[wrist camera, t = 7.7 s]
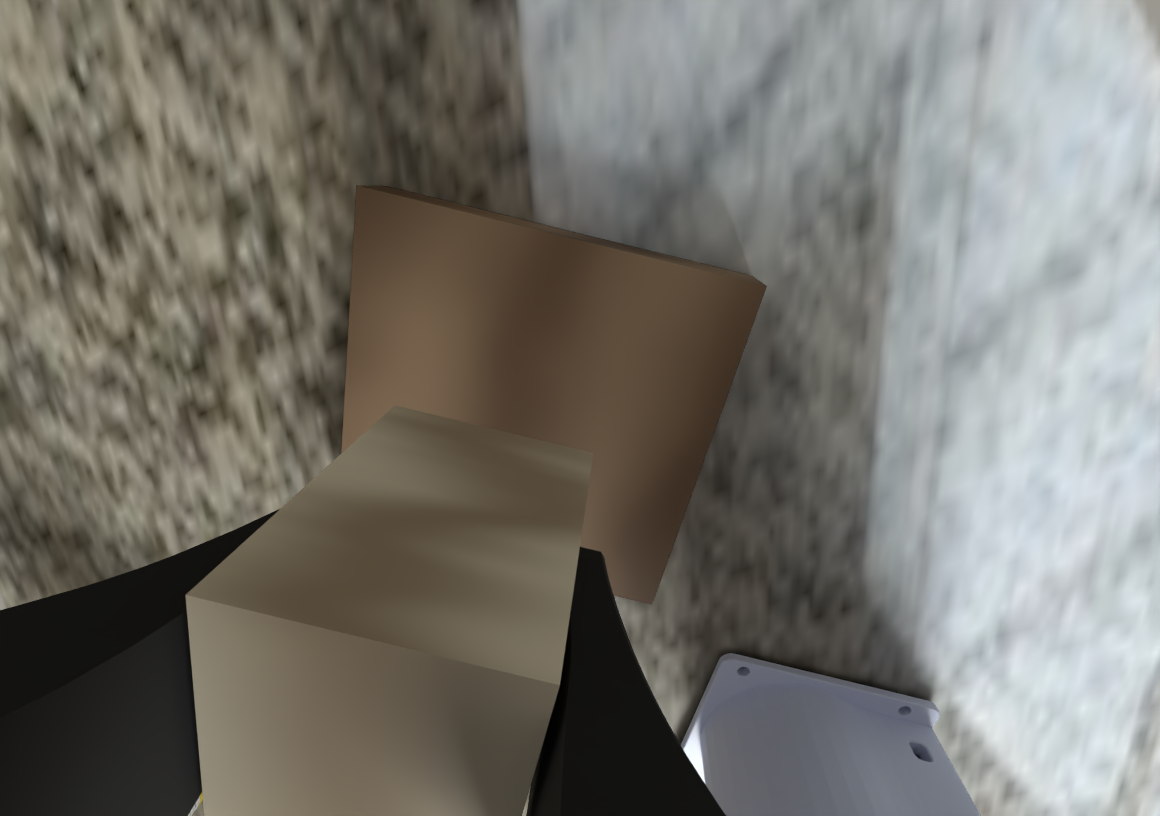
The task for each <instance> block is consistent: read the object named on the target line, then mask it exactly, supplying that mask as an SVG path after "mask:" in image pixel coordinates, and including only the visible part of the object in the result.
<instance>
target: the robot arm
mask: <svg viewBox="0 0 1160 816" xmlns="http://www.w3.org/2000/svg"><path fill="white" fill-rule="evenodd" d="M279 510H280V509H279ZM279 510H277V511H274V512H272V513H270V514H268V515H266V516H264V517H261V518H259V519H257V520H255V521H253V522H251V523H248V524H246V525H244V526H242V527H240V528H238V529H236V530H233V531H231V532H229V533H226V534H224V535H222V536H219V537H217V538H214V539H212V540H210V541H207V542H205V543H202V544H200V545H198V546H195V547H193V548H190V549H188V550H186V551H183V552H181V553H178V554H176V555H174V556H171V557H168V558H166V559H163V560H161V561H158V562H155V563H153V564H150V565H147V566H144V567H142V568H139V569H136V570H133V571H130V572H127V573H124V574H121V575H118V576H115V577H112V578H109V579H107V580H104V581H101V582H97V583H94V584H91V585H88V586H85V587H81V588H78V589H74V590H71V591H67V592H64V593H60V594H57V595H53V596H50V597H46V598H43V599H39V600H36V601H32V602H29V603H25V604H22V605H18V606H15V607H11V608H7V609H4V610H0V816H188V815H189V813H190V811H191V810H192V808H193V806H194V805H195V803H196V801H197V800H198V798H199V796H200V795H201V793H202V782H201V770H200V758H199V747H198V735H197V724H196V712H195V700H194V689H193V677H192V665H191V654H190V642H189V630H188V619H187V607H186V594H187V593H188V592H189V591H190V590H192V589H193V588H194V587H195V586H196V585H197V584H198V583H199V582H200V581H202V580H203V579H204V578H205V577H206V576H207V575H208V574H209V573H210V572H211V571H213V570H214V569H215V568H216V567H217V566H218V565H219V564H220V563H221V562H222V561H224V560H225V559H226V558H227V557H228V556H229V555H230V554H231V553H232V552H234V551H235V550H236V549H237V548H238V547H239V546H240V545H241V544H242V543H243V542H245V541H246V540H247V539H248V538H249V537H250V536H251V535H252V534H253V533H254V532H256V531H257V530H258V529H259V528H260V527H261V526H262V525H263V524H264V523H266V522H267V521H268V520H269V519H270V518H271V517H272V516H273V515H274V514H275V513H277V512H278V511H279ZM741 667H746V668H741ZM939 716H940V712H939V710H938V708H937V707H936V705H935V704H934V703H933V702H930V701H927V700H923V699H919V698H915V697H911V696H907V695H903V694H899V693H894V692H890V691H886V690H882V689H878V688H874V687H870V686H866V685H862V684H857V683H853V682H849V681H845V680H841V679H837V678H833V677H829V676H824V675H820V674H816V673H812V672H808V671H804V670H800V669H796V668H792V667H787V666H783V665H779V664H775V663H771V662H767V661H763V660H759V659H754V658H750V657H746V656H742V655H738V654H733V653H728V654H725V655H723V656H721V658H720V659H719V661H718V663H717V665H716V668H715V670H714V672H713V674H712V676H711V679H710V681H709V683H708V685H707V688H706V690H705V692H704V694H703V697H702V699H701V701H700V703H699V705H698V708H697V710H696V712H695V714H694V717H693V719H692V721H691V723H690V726H689V728H688V730H687V732H686V734H685V737H684V739H683V741H682V743H681V745H680V743H679V741H678V740H677V738H676V736H675V734H674V733H673V731H672V729H671V727H670V726H669V724H668V722H667V720H666V718H665V716H664V715H663V713H662V711H661V709H660V707H659V705H658V703H657V701H656V699H655V697H654V695H653V693H652V691H651V689H650V687H649V685H648V683H647V681H646V679H645V676H644V674H643V672H642V670H641V667H640V665H639V663H638V660H637V658H636V656H635V654H634V651H633V649H632V646H631V644H630V641H629V639H628V636H627V633H626V630H625V628H624V625H623V622H622V619H621V617H620V614H619V611H618V608H617V605H616V602H615V598H614V595H613V592H612V588H611V585H610V581H609V577H608V573H607V568H606V564H605V558H604V556H603V554H602V553H601V552H600V551H596V550H592V549H588V548H583V547H580V549H579V556H578V563H577V570H576V577H575V584H574V591H573V598H572V604H571V611H570V618H569V625H568V632H567V639H566V646H565V653H564V660H563V667H562V674H561V681H560V686H559V690H558V693H557V697H556V700H555V704H554V707H553V710H552V714H551V717H550V721H549V724H548V727H547V731H546V734H545V738H544V741H543V745H542V748H541V751H540V755H539V758H538V762H537V765H536V769H535V772H534V775H533V779H532V782H531V788H530V795H529V802H528V809H527V815H526V816H981V815H980V813H979V811H978V810H977V808H976V806H975V804H974V802H973V801H972V799H971V797H970V795H969V793H968V792H967V790H966V788H965V786H964V785H963V783H962V781H961V779H960V777H959V776H958V774H957V772H956V770H955V768H954V767H953V765H952V763H951V761H950V760H949V758H948V756H947V754H946V752H945V751H944V749H943V747H942V745H941V743H940V742H939V740H938V738H937V736H936V735H935V733H934V731H933V729H932V727H933V725H934V724H935V723H936V721H937V720H938V718H939Z"/></svg>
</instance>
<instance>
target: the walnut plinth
mask: <svg viewBox="0 0 1160 816" xmlns="http://www.w3.org/2000/svg"><path fill="white" fill-rule="evenodd" d="M766 287H767V286H766V285H764V284H763V283H761V282H760V281H759V280H757V279H756V278H754V277H753V276H750V275H746V274H742V273H738V272H734V271H730V270H726V269H722V268H718V267H714V266H710V265H706V264H701V263H697V262H693V261H689V260H685V259H681V258H677V257H673V256H669V255H665V254H661V253H657V252H653V251H649V250H644V249H640V248H636V247H632V246H628V245H624V244H620V243H616V242H612V241H608V240H604V239H600V238H596V237H592V236H587V235H583V234H579V233H575V232H571V231H567V230H563V229H559V228H555V227H551V226H547V225H543V224H539V223H535V222H530V221H526V220H522V219H518V218H514V217H510V216H506V215H502V214H498V213H494V212H490V211H486V210H482V209H477V208H473V207H469V206H465V205H461V204H457V203H453V202H449V201H445V200H441V199H437V198H433V197H429V196H425V195H420V194H416V193H412V192H408V191H404V190H400V189H396V188H392V187H388V186H356V203H355V221H354V239H353V256H352V274H351V292H350V310H349V327H348V345H347V363H346V380H345V398H344V416H343V434H342V451H341V454H342V453H343V452H344V451H345V450H346V449H347V448H348V447H349V446H350V445H352V444H353V443H354V442H355V441H356V440H357V439H358V438H359V437H360V436H362V435H363V434H364V433H365V432H366V431H367V430H368V429H369V428H370V427H371V426H373V425H374V424H375V423H376V422H377V421H378V420H379V419H380V418H381V417H382V416H384V415H385V414H386V413H387V412H388V411H389V410H390V409H391V408H392V407H394V406H395V405H396V406H400V407H404V408H408V409H413V410H417V411H421V412H425V413H429V414H433V415H437V416H441V417H446V418H450V419H454V420H458V421H462V422H466V423H470V424H474V425H479V426H483V427H487V428H491V429H495V430H499V431H503V432H508V433H512V434H516V435H520V436H524V437H528V438H532V439H536V440H541V441H545V442H549V443H553V444H557V445H561V446H565V447H569V448H574V449H578V450H582V451H586V452H590V453H593V459H592V466H591V473H590V480H589V487H588V494H587V500H586V507H585V514H584V521H583V528H582V535H581V542H580V547H583V548H588V549H592V550H596V551H600V552H601V553H602V554H603V556H604V558H605V564H606V568H607V573H608V577H609V581H610V585H611V588H612V592H613V595H615V596H619V597H623V598H627V599H631V600H635V601H640V602H644V603H648V604H652V603H653V600H654V597H655V595H656V592H657V589H658V586H659V584H660V581H661V578H662V575H663V572H664V570H665V567H666V564H667V561H668V559H669V556H670V553H671V550H672V547H673V545H674V542H675V539H676V536H677V534H678V531H679V528H680V525H681V523H682V520H683V517H684V514H685V511H686V509H687V506H688V503H689V500H690V498H691V495H692V492H693V489H694V486H695V484H696V481H697V478H698V475H699V473H700V470H701V467H702V464H703V462H704V459H705V456H706V453H707V450H708V448H709V445H710V442H711V439H712V437H713V434H714V431H715V428H716V425H717V423H718V420H719V417H720V414H721V412H722V409H723V406H724V403H725V400H726V398H727V395H728V392H729V389H730V387H731V384H732V381H733V378H734V376H735V373H736V370H737V367H738V364H739V362H740V359H741V356H742V353H743V351H744V348H745V345H746V342H747V339H748V337H749V334H750V331H751V328H752V326H753V323H754V320H755V317H756V314H757V312H758V309H759V306H760V303H761V301H762V298H763V295H764V292H765V290H766Z"/></svg>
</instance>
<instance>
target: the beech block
mask: <svg viewBox="0 0 1160 816" xmlns="http://www.w3.org/2000/svg"><path fill="white" fill-rule="evenodd" d="M592 459H593V453H590V452H586V451H582V450H578V449H574V448H569V447H565V446H561V445H557V444H553V443H549V442H545V441H541V440H536V439H532V438H528V437H524V436H520V435H516V434H512V433H508V432H503V431H499V430H495V429H491V428H487V427H483V426H479V425H474V424H470V423H466V422H462V421H458V420H454V419H450V418H446V417H441V416H437V415H433V414H429V413H425V412H421V411H417V410H413V409H408V408H404V407H400V406H396V405H395V406H394V407H392V408H391V409H390V410H389V411H388V412H387V413H386V414H385V415H384V416H382V417H381V418H380V419H379V420H378V421H377V422H376V423H375V424H374V425H373V426H371V427H370V428H369V429H368V430H367V431H366V432H365V433H364V434H363V435H362V436H360V437H359V438H358V439H357V440H356V441H355V442H354V443H353V444H352V445H350V446H349V447H348V448H347V449H346V450H345V451H344V452H343V453H342V454H341V455H339V456H338V457H337V458H336V459H335V460H334V461H333V462H332V463H331V464H330V465H328V466H327V467H326V468H325V469H324V470H323V471H322V472H321V473H320V474H318V475H317V476H316V477H315V478H314V479H313V480H312V481H311V482H310V483H309V484H307V485H306V486H305V487H304V488H303V489H302V490H301V491H300V492H299V493H298V494H296V495H295V496H294V497H293V498H292V499H291V500H290V501H289V502H288V503H286V504H285V505H284V506H283V507H282V508H281V509H280V510H279V511H278V512H277V513H275V514H274V515H273V516H272V517H271V518H270V519H269V520H268V521H267V522H266V523H264V524H263V525H262V526H261V527H260V528H259V529H258V530H257V531H256V532H254V533H253V534H252V535H251V536H250V537H249V538H248V539H247V540H246V541H245V542H243V543H242V544H241V545H240V546H239V547H238V548H237V549H236V550H235V551H234V552H232V553H231V554H230V555H229V556H228V557H227V558H226V559H225V560H224V561H222V562H221V563H220V564H219V565H218V566H217V567H216V568H215V569H214V570H213V571H211V572H210V573H209V574H208V575H207V576H206V577H205V578H204V579H203V580H202V581H200V582H199V583H198V584H197V585H196V586H195V587H194V588H193V589H192V590H190V591H189V592H188V593H187V594H186V607H187V619H188V630H189V642H190V654H191V665H192V677H193V689H194V700H195V712H196V724H197V735H198V747H199V758H200V770H201V782H202V793H203V805H204V816H522V813H523V810H524V806H525V803H526V799H527V796H528V792H529V789H530V786H531V782H532V779H533V775H534V772H535V769H536V765H537V762H538V758H539V755H540V751H541V748H542V745H543V741H544V738H545V734H546V731H547V727H548V724H549V721H550V717H551V714H552V710H553V707H554V704H555V700H556V697H557V693H558V690H559V686H560V681H561V674H562V667H563V660H564V653H565V646H566V639H567V632H568V625H569V618H570V611H571V604H572V598H573V591H574V584H575V577H576V570H577V563H578V556H579V549H580V542H581V535H582V528H583V521H584V514H585V507H586V500H587V494H588V487H589V480H590V473H591V466H592Z"/></svg>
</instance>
